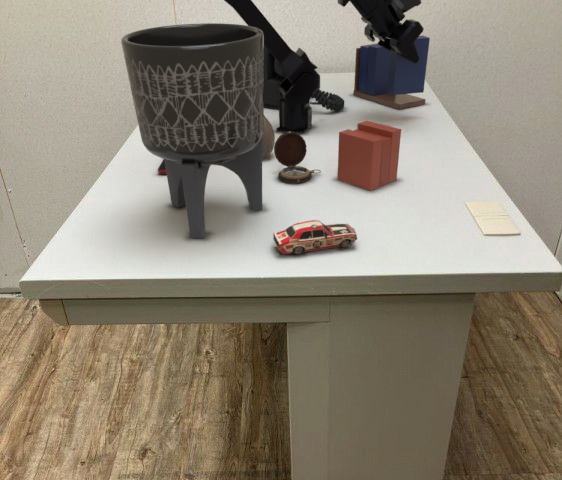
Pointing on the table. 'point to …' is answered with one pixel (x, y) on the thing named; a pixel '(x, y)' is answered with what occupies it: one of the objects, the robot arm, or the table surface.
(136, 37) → the planter
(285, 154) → the compass
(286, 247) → the race car
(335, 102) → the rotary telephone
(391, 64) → the navy book
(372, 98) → the book rack
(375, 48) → the navy books
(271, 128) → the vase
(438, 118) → the table surface
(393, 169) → the brick-red books
